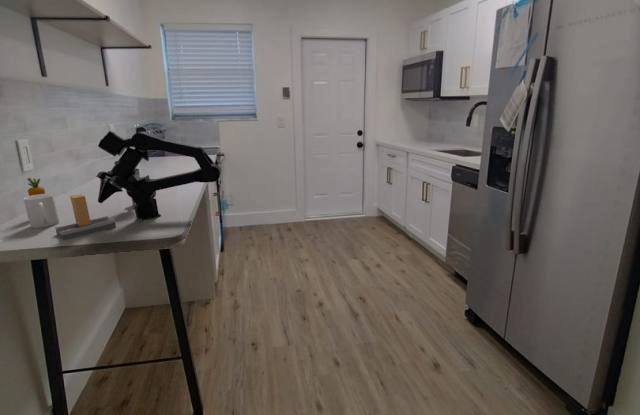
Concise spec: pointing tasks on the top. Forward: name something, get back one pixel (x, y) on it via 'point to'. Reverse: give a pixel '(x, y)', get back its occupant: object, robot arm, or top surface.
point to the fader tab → (80, 210)
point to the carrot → (35, 187)
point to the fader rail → (85, 228)
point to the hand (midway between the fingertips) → (99, 202)
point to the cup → (41, 210)
